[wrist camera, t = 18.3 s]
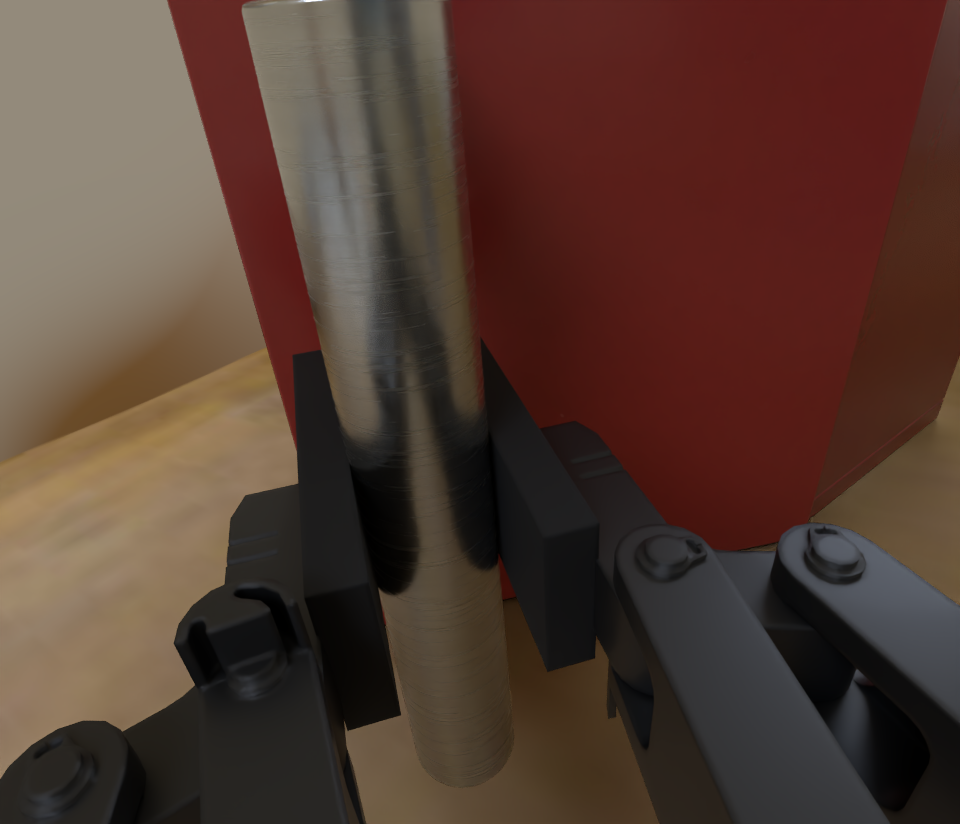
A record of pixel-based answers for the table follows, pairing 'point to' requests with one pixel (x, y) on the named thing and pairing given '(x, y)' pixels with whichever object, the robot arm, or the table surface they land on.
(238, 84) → the red cabinet door
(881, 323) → the cabinet
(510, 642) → the table surface
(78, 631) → the table surface
